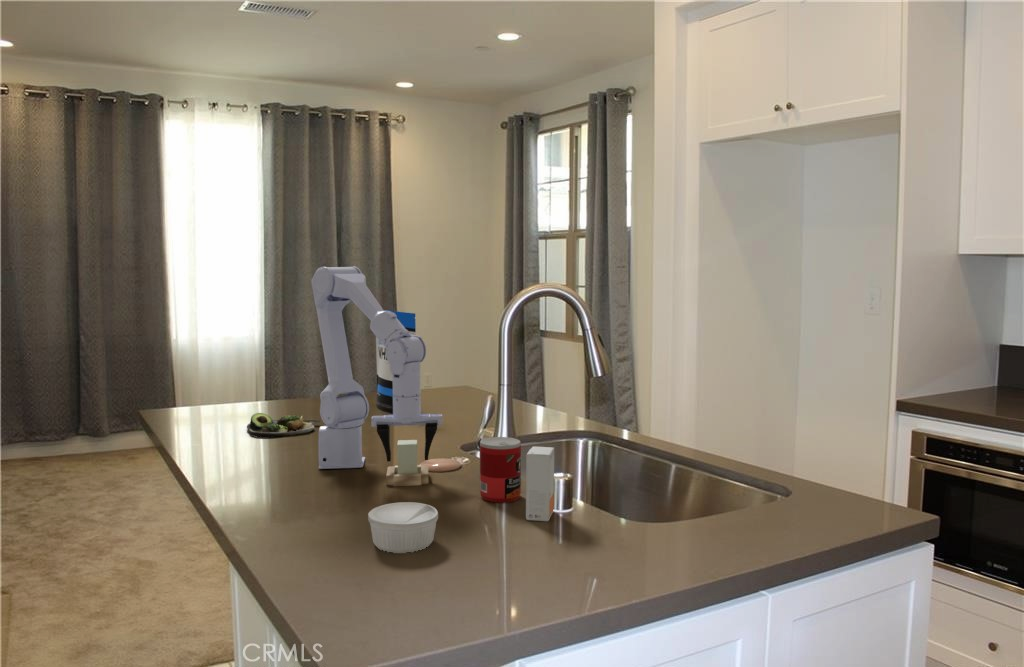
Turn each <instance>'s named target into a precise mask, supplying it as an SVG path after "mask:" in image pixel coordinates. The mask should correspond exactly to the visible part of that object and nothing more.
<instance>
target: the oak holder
mask: <svg viewBox="0 0 1024 667" xmlns="http://www.w3.org/2000/svg"><path fill="white" fill-rule="evenodd" d="M417 473H418V474H398V464H397V465H395V466H394V465H392V466H387V471H386V475H385V476H386V477H385V479H386V484H385V485H386V486H394V487H401V486H402V487H405V486H407V487H408V486H422V485H429V471H428V465H425V466H421V465H420V464H417Z"/></svg>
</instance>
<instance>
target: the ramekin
mask: <svg viewBox="0 0 1024 667" xmlns="http://www.w3.org/2000/svg"><path fill="white" fill-rule="evenodd" d="M367 520H368V523H369V525H370V531H371V532H370V533H371V537H372V542H373V544H374V546H376V548H378V550H380V551H382V550H383V551H382V552H385V551H387V552H386V553H389V552H393V553H392V554H407V553H406V552H411V553H415V552H414V551H416V552H419V551H418V550H420V551H423V550H425V549H427V548H428V547H430V545H431V544H432V543H433V541H434V537H435V532H436V526H437V521H438V520H439V512H438V510H437V508H436V507H434V506H432V505H430V504H426V503H423V502H422V503H421V502H413V501H412V502H411V501H408V502H407V501H406V502H403V501H400V502H393V503H386V504H382V505H379V506H376V507H374V508H372V509H371V510H370V511H369V512H368V513H367ZM426 547H427V548H426ZM422 549H423V550H422Z"/></svg>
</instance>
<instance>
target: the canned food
mask: <svg viewBox="0 0 1024 667" xmlns="http://www.w3.org/2000/svg"><path fill="white" fill-rule="evenodd" d="M521 447H522V443H521V440H519V439H517V438H515V437H506V436H492V437H486V438H483V439H481V440H480V441H479V489H480V490H479V492H480V493H479V494H480V496H481V497H480V498H481V499H482V500H484V501H486V502H489V503H490V502H491V503H497V504H500V503H502V504H505V503H511V502H515V501H517V500H519V498H520V497H521V491H522V490H521V489H522V488H521V486H522V482H521V481H522V476H521V475H522V470H521V469H522V448H521Z"/></svg>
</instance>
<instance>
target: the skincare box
mask: <svg viewBox="0 0 1024 667" xmlns="http://www.w3.org/2000/svg"><path fill="white" fill-rule="evenodd" d="M525 458H526V460H525V461H526V462H525V463H526V464H525V465H526V466H525V467H526V468H525V469H526V470H525V471H526V472H525V476H526V478H525V480H526V481H525V484H526V485H525V486H526V487H525V520H526V521H537V522H538V521H539V522H549V521H550V518H551V517H552V515H553V513H554V511H553V510H555V509H554V508H555V507H554V505H555V504H554V503H555V501H554V500H555V499H554V497H555V490H554V489H555V447H551V446H550V447H549V446H547V447H545V446H532V447H531V448H530V449H529V450H528V452H527V453H526V457H525Z"/></svg>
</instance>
